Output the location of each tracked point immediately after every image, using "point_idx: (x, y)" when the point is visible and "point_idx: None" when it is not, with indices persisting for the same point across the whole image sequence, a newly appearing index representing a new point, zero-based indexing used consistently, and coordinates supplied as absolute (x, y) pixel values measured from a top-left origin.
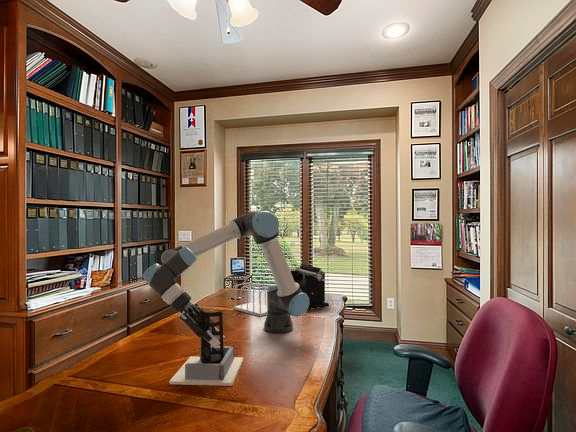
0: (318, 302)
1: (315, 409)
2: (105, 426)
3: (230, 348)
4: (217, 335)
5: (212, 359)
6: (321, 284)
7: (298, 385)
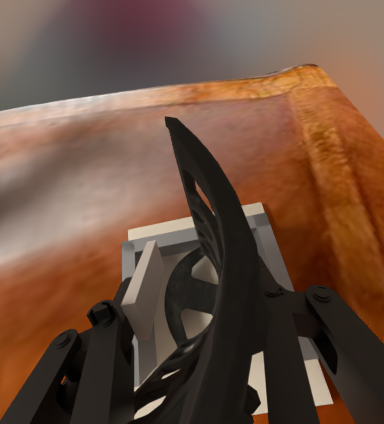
0: None
1: (276, 73)
2: None
3: (139, 246)
4: (155, 271)
5: (187, 295)
6: None
7: (217, 106)
